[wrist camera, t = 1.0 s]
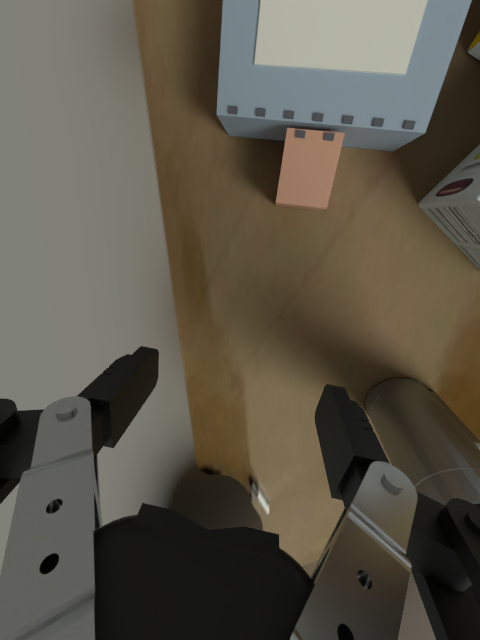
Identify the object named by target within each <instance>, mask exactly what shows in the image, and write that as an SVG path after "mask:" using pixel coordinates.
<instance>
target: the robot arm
mask: <svg viewBox="0 0 480 640" xmlns="http://www.w3.org/2000/svg"><path fill="white" fill-rule="evenodd" d="M158 358H159V352H158V350H157V349H153V348H148V347H143V346H141V347H140V348H138V349H137V350H136V351H135V352H134V353H133V354H132V355H129V354H127V355H125V356H123V357H121V358H119V359H117V360H116V361H114V362H113V363H112V364H111V365H110V366H109V368H107V369H106V370H105V371H104V372H103V373H102V374H101V375H99V376H98V377H97V378H96V379H95V380H94V381H93V382H92V383H91V384H90V385H88V387H86V388H85V389H84V390H83V391H82V392H81V393H80V394H79V395H78V396H77V397H68V398H63V399H60V400H58V401H56V402H54V403H52V404H50V405H49V406H48V407H47V408H45V409H44V410H26V411H17V407H16V404H15V403H14V402H13V401H12V400H9V399H0V503H1V502H2V501H3V500H4V499H5V498H6V497H7V496H8V494H9V493H10V492H11V491H12V490H13V489H14V488H15V487H16V485H17V484H18V483H19V482H20V485H19V489H18V494H17V499H16V504H15V509H14V514H13V518H12V523H11V527H10V532H9V537H8V542H7V546H6V551H5V556H4V561H3V565H2V570H1V575H0V640H398V636H399V630H400V625H401V620H402V615H403V610H404V604H405V599H406V594H407V589H408V583H409V578H410V573H411V571H412V573H413V576H414V579H415V582H416V584H417V587H418V590H419V593H420V596H421V599H422V601H423V604H424V607H425V610H426V612H427V615H428V618H429V621H430V624H431V626H432V629H433V632H434V635H435V638H436V640H480V441H479V440H478V439H477V438H476V436H475V435H474V434H473V433H472V432H471V431H470V430H469V429H468V428H467V427H466V425H465V424H464V423H463V422H462V421H461V420H460V419H459V418H458V417H457V416H456V414H455V413H454V412H453V411H452V410H451V409H450V408H449V407H448V406H447V405H446V403H445V402H444V401H443V400H442V399H441V398H440V397H439V396H438V395H437V394H436V392H433V391H429V390H428V389H426V387H425V386H424V385H422V384H421V383H419V382H418V381H415V380H412V379H407V378H395V379H390V380H387V381H384V382H382V383H380V384H378V385H376V386H375V387H374V388H373V389H372V390H371V391H370V392H369V393H368V395H367V397H366V401H365V407H366V410H367V412H368V414H369V417H370V419H371V421H372V423H373V425H374V427H375V430H376V432H377V434H378V436H379V438H380V440H381V442H382V445H383V447H384V449H385V451H386V453H387V455H388V457H389V460H390V462H391V464H392V465H391V464H390V463H389V461H388V459H387V457H386V455H385V453H384V451H383V449H382V447H381V445H380V443H379V441H378V439H377V436H376V434H375V432H373V428H372V426H371V424H370V423H369V420H368V418H367V416H366V414H365V412H364V410H363V409H362V408H361V407H360V406H359V405H358V404H357V403H356V402H355V401H352V400H350V398H349V396H348V394H347V391H346V389H345V388H344V387H339V386H334V385H329V384H327V385H326V386H325V388H324V390H323V393H322V395H321V398H320V400H319V403H318V406H317V408H316V412H315V424H316V429H317V433H318V438H319V442H320V447H321V451H322V456H323V460H324V465H325V469H326V474H327V479H328V483H329V488H330V492H331V497H332V498H335V499H340V500H343V502H344V506H345V509H344V510H343V512H342V514H341V516H340V518H339V520H338V522H337V524H336V526H335V528H334V530H333V532H332V534H331V536H330V538H329V540H328V542H327V544H326V546H325V548H324V550H323V552H322V554H321V556H320V558H319V560H318V562H317V564H316V566H315V567H314V569H313V571H312V573H311V575H310V577H309V575H308V574H307V573H306V571H305V570H304V569H303V568H302V567H301V565H300V564H299V563H298V562H297V561H296V560H294V559H293V558H292V557H291V556H290V555H289V554H287V553H286V552H285V551H283V550H282V549H280V548H279V535H278V534H274V533H270V532H265V531H261V530H257V529H253V528H248V527H237V528H225V529H214V530H208V529H205V528H203V527H202V526H200V525H198V524H197V523H195V522H193V521H192V520H190V519H188V518H187V517H185V516H183V515H182V514H180V513H178V512H177V511H174V510H170V509H166V508H162V507H157V506H153V505H148V504H144V503H143V504H142V506H141V508H140V510H139V513H138V515H132V516H128V517H123V518H120V519H118V520H115V521H112V522H110V523H108V524H106V525H104V526H103V527H102V518H101V508H100V492H99V475H98V457H97V454H98V452H99V451H100V450H101V448H102V447H103V446H106V447H111V448H114V447H115V445H116V444H117V442H118V441H119V439H120V438H121V436H122V435H123V434H124V432H125V431H126V429H127V428H128V426H129V425H130V423H131V422H132V420H133V419H134V417H135V416H136V414H137V413H138V411H139V410H140V408H141V407H142V405H143V404H144V403H145V401H146V400H147V398H148V397H149V395H150V394H151V392H152V391H153V389H154V388H155V386H156V383H157V379H158Z"/></svg>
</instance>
